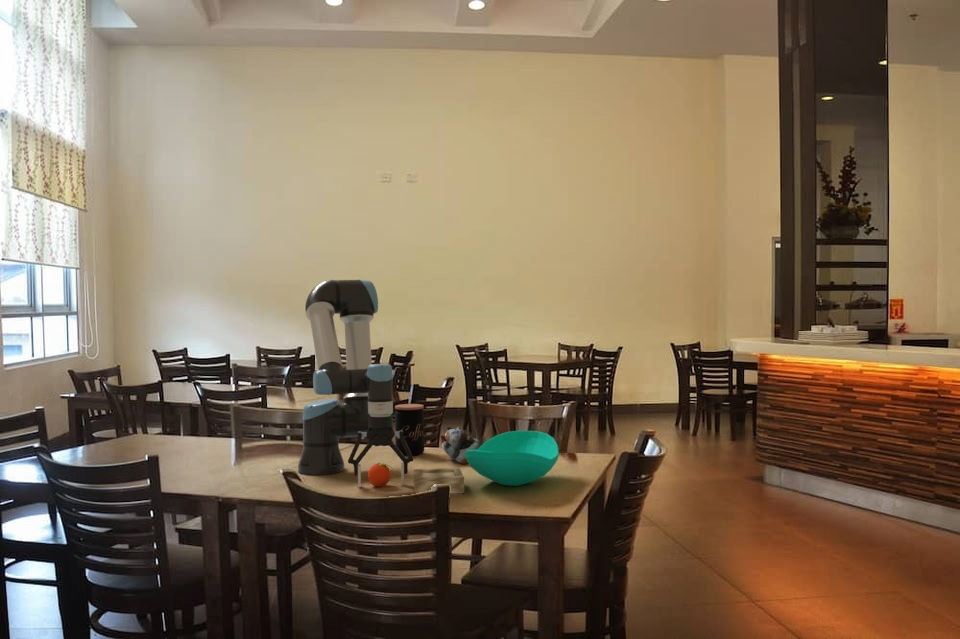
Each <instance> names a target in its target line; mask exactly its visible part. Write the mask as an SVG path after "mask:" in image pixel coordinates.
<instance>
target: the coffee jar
mask: <svg viewBox="0 0 960 639" xmlns="http://www.w3.org/2000/svg"><path fill="white" fill-rule="evenodd" d="M424 408H425V407H424V404H420V403H404V404H397V405H395V406H394V409H395V410H396V411H395V413H394V425H395V426H394V427H395V428H394V430H395V431H394V432H396V431H400V430H402V431H403V436H404V439H405V441H406V443H407V446H408V448H409V450H410V452H411V454H412V456H413V457H417V456H421V455H423V454H424V452H425V412H424V410H423V409H424ZM394 437H395V438H394V439H395V443H394V444H395V445H396V446H397V448H398V449H399V450H400V451H401V453H402V454H403V455H404V456H405V457H408V456H407V454H406V452H405V449H404V447H403V445H402V443H401V441H400V438H397V436H396V435H394Z"/></svg>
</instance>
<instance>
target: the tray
mask: <svg viewBox="0 0 960 639" xmlns="http://www.w3.org/2000/svg"><path fill="white" fill-rule="evenodd" d="M434 484H449V485H450V486H451V493H464V494H465V476H464V474H463V472H462V470H461V468H460V467H445V468H443V467H442V468H441V467H438V468H414V469H413V485H414V493H415V494H416V493H419V492H425V491H429V490H431V487H432V486H433V485H434Z"/></svg>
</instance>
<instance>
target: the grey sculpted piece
mask: <svg viewBox="0 0 960 639" xmlns="http://www.w3.org/2000/svg"><path fill="white" fill-rule="evenodd" d="M439 442H440V444H441V447H442V450H443V451H444V452H445V454H446V455H447V456H449V458H450V460H451V461H456V462H458V463H459V464H462V465H469V463H468V462H467V460H466V457H465V452H466V451H468V450H477V449H478V448H479V447H480V446H481V445H483V443H482V442H481V441H480V440H479V439H477V438H473V437H472V436H470V435H469V436H468V434H467V433H466V432H465V431H464V430H462V428H461V427H459V426H458V427H456V428H452V427H450V426H447V427H446V431H445V435H443V434H442V435H440V440H439Z"/></svg>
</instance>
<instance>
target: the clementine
mask: <svg viewBox="0 0 960 639" xmlns="http://www.w3.org/2000/svg"><path fill="white" fill-rule="evenodd" d="M390 469H393V467H392V466H391V465H389V464H387V463H380V462H378V463H375V464H373V465H372V466H371V467H370V468H369V469H368V471H367V472H368V473H367V479H368V481H369V482H370V484H372V486H375V487H384V486H385V485H387V484H388V483H389V482H390V479H391V475H392V474H391V470H390Z"/></svg>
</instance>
